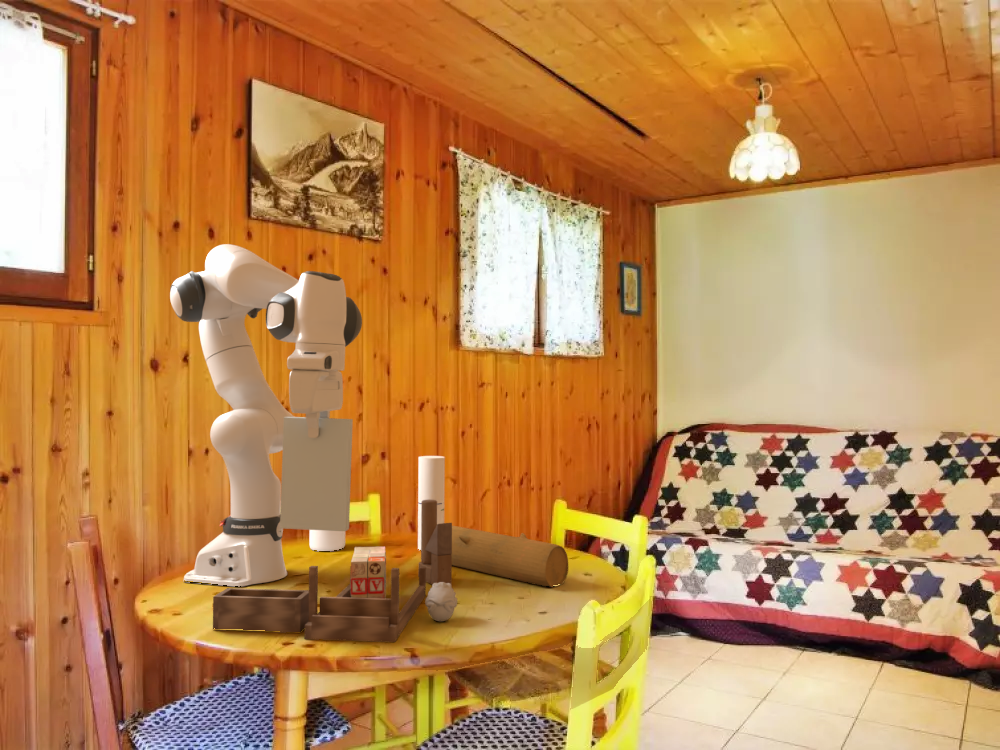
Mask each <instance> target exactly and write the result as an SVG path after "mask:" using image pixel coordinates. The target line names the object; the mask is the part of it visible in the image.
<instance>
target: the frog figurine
mask: <svg viewBox="0 0 1000 750" xmlns="http://www.w3.org/2000/svg"><path fill="white" fill-rule="evenodd" d="M424 603H425V606H426V607H427V612H428V614H429V616H430V617H431V618H432V619H433V620H435V622H436V621H437V622H445V621H448V620H449V619H450V618H451V617H452V616H453V614H454V612H455V609H456V607H457V606H458V598H457V597H456V591H455V590H454V588H453V587H452V583H451V584H450V583H445V582H439V583H434V584H433V585H432V584H431V588H430V589H429V591H428V593H427V597H425V602H424Z"/></svg>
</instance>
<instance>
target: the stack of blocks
mask: <svg viewBox="0 0 1000 750" xmlns="http://www.w3.org/2000/svg"><path fill="white" fill-rule="evenodd" d="M350 566H351V598H385V599H387V555H386V546H355V547H354V551H353V554H352V558H351V561H350Z"/></svg>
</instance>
